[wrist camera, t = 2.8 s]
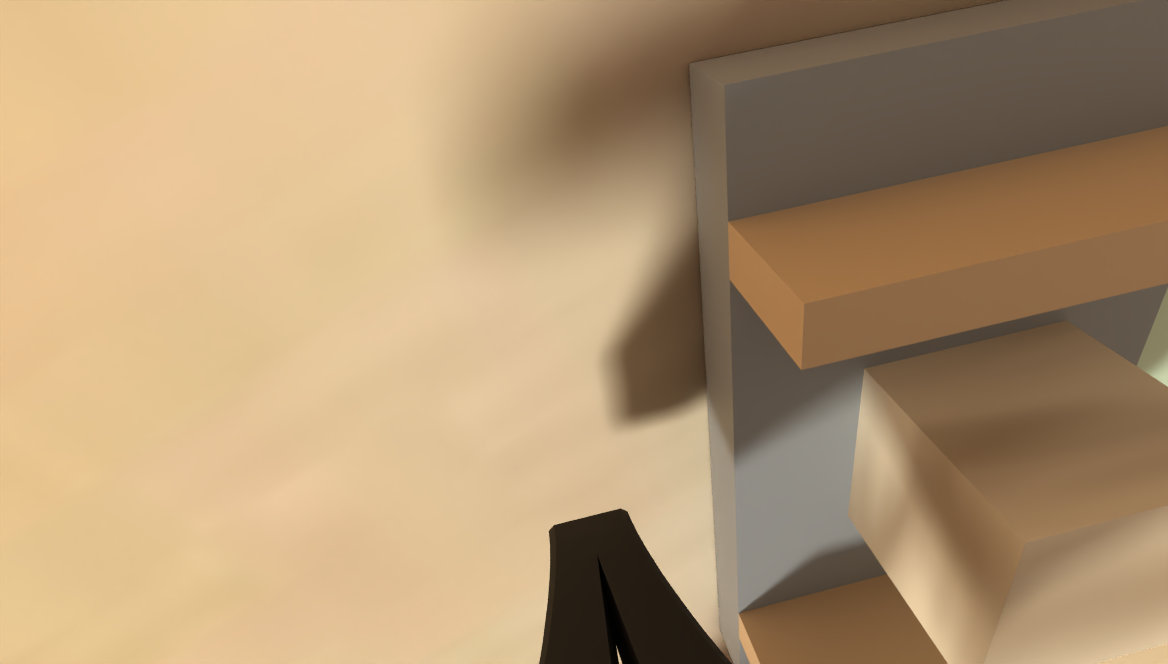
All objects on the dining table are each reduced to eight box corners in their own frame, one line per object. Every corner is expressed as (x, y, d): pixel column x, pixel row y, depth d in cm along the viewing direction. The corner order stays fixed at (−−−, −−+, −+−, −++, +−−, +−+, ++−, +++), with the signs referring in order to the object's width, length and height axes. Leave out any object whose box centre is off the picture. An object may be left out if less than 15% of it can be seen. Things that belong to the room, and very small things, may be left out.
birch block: (1019, 471, 15) (1190, 637, 11) (848, 515, 14) (971, 698, 11) (1066, 320, 12) (1297, 470, 9) (863, 368, 12) (1025, 542, 9)
